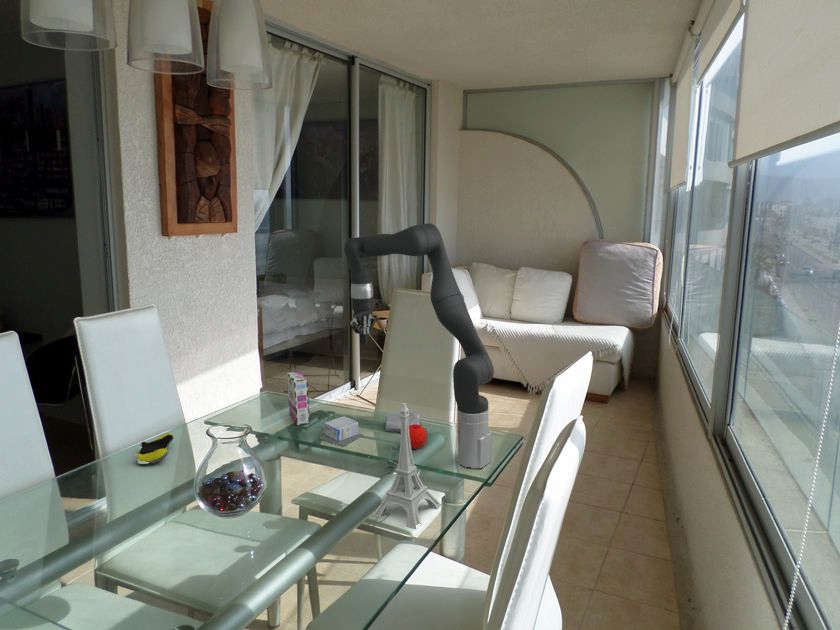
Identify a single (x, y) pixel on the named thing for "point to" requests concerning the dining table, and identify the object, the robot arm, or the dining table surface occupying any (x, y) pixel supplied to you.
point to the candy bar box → (298, 398)
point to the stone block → (395, 421)
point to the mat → (342, 442)
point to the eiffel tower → (406, 480)
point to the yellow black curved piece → (155, 449)
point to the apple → (417, 436)
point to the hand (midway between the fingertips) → (364, 344)
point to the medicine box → (341, 428)
